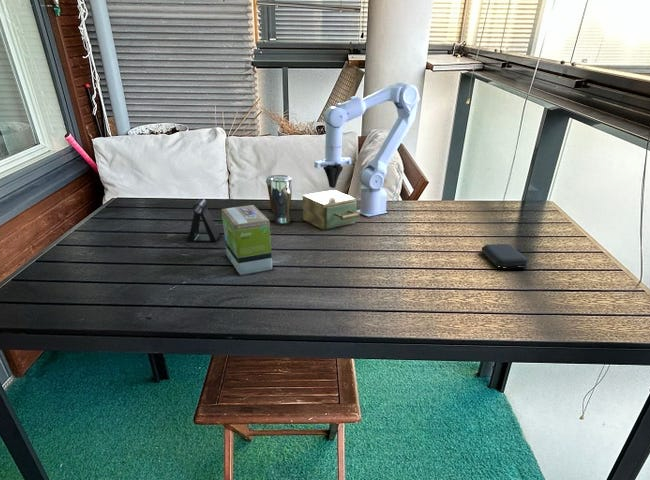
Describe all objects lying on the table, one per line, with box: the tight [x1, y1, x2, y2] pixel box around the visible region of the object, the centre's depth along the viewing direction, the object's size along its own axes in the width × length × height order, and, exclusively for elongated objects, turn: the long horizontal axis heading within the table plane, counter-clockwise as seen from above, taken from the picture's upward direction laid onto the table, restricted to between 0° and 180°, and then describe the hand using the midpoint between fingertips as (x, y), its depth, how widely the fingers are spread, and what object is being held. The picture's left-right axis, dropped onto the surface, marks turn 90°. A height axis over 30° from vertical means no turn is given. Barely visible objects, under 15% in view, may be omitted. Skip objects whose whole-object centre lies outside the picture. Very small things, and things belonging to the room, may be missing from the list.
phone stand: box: [187, 198, 220, 243], centre depth 156 cm, size 9×6×12 cm, turn 88°
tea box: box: [221, 204, 273, 276], centre depth 137 cm, size 15×10×15 cm
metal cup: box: [265, 174, 290, 213], centre depth 182 cm, size 10×10×12 cm
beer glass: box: [271, 176, 293, 226], centre depth 169 cm, size 7×7×15 cm
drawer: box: [325, 201, 360, 228], centre depth 169 cm, size 18×12×7 cm
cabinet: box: [302, 189, 357, 231], centre depth 172 cm, size 14×14×9 cm
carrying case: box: [481, 243, 530, 270], centre depth 143 cm, size 11×3×15 cm
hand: (332, 187), depth 174 cm, fingers closed
